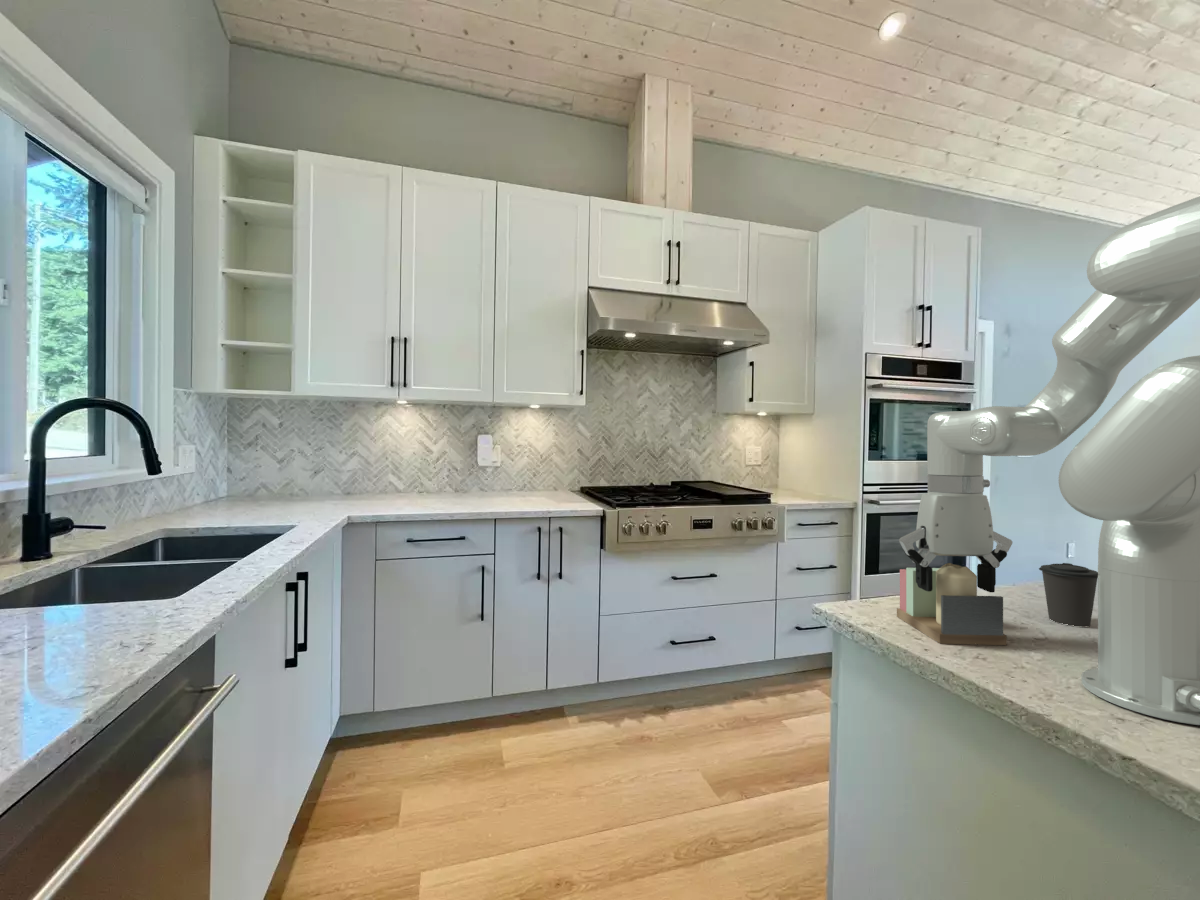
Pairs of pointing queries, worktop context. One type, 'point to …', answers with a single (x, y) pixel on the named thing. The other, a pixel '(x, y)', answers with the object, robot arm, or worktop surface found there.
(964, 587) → the candle
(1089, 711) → the worktop surface
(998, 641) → the brown wooden board
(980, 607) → the bookend
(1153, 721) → the worktop surface
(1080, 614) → the coffee cup
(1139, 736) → the worktop surface
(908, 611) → the books
